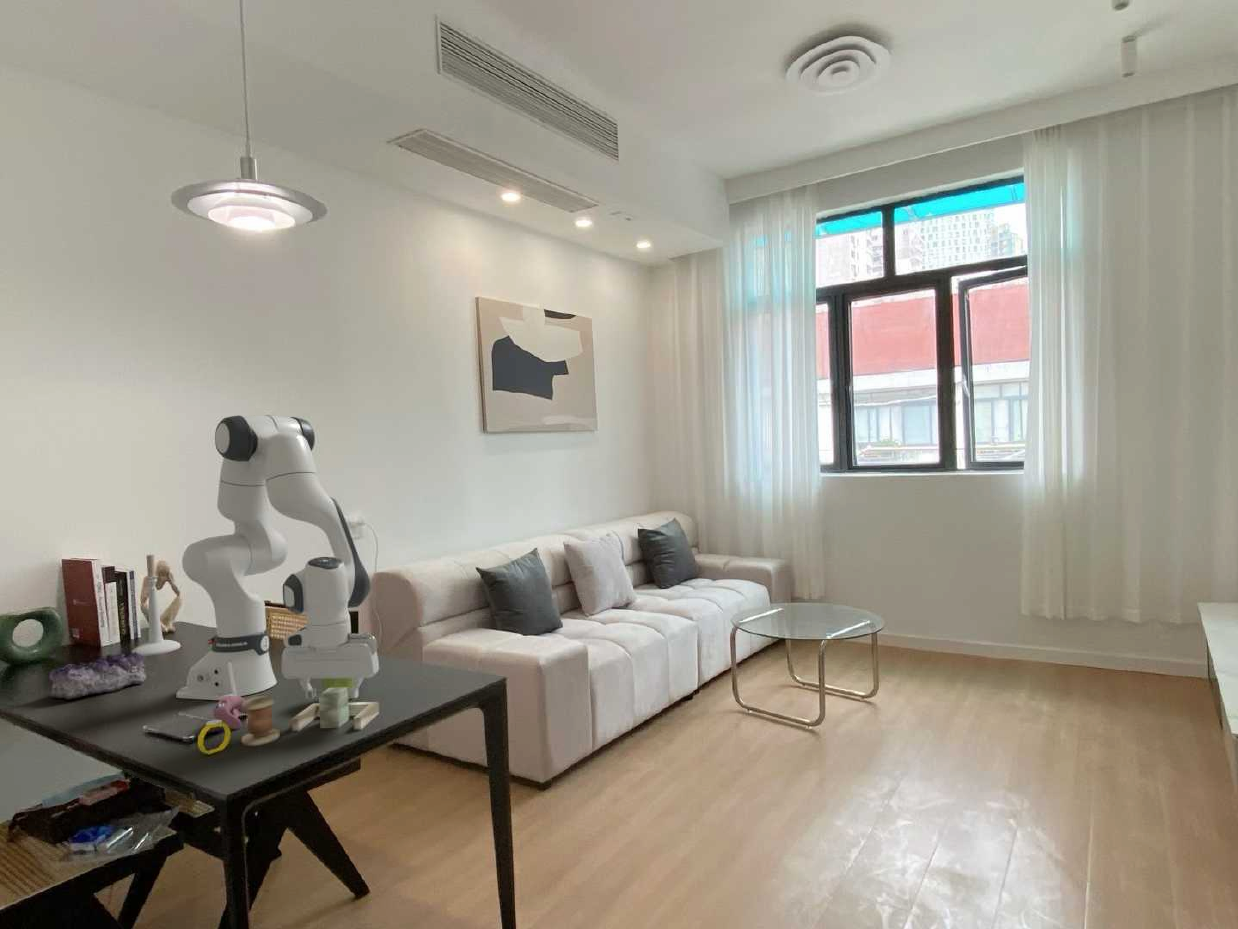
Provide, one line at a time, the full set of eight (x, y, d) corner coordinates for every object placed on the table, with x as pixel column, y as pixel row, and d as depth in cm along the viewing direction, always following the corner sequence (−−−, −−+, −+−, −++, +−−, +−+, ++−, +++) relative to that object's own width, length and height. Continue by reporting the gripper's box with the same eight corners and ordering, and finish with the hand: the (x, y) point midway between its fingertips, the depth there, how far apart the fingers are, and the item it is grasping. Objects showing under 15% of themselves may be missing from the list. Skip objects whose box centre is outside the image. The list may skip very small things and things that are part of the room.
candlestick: (190, 644, 235) (184, 550, 234) (156, 656, 222) (149, 556, 221) (156, 644, 237) (150, 550, 237) (121, 655, 225) (114, 557, 224)
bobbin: (234, 746, 149) (232, 707, 149) (254, 732, 156) (251, 695, 156) (268, 745, 149) (265, 706, 149) (286, 732, 156) (283, 694, 156)
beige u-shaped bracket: (292, 731, 156) (291, 719, 156) (313, 714, 166) (313, 703, 166) (361, 729, 155) (360, 718, 155) (379, 713, 165) (378, 702, 164)
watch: (204, 759, 144) (202, 728, 143) (195, 756, 145) (194, 726, 145) (233, 747, 149) (231, 717, 149) (225, 745, 150) (223, 716, 150)
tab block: (320, 728, 157) (318, 695, 157) (331, 719, 162) (329, 687, 162) (338, 728, 157) (336, 695, 157) (349, 719, 162) (347, 687, 162)
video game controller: (241, 721, 168) (224, 695, 167) (259, 711, 168) (243, 685, 168) (222, 738, 158) (204, 711, 158) (241, 727, 158) (224, 699, 158)
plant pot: (320, 709, 169) (317, 671, 168) (316, 697, 177) (313, 661, 177) (363, 701, 173) (361, 664, 173) (357, 690, 181) (355, 655, 181)
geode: (139, 676, 203) (140, 641, 202) (151, 690, 195) (152, 653, 194) (46, 694, 188) (46, 656, 187) (56, 710, 180) (56, 670, 179)
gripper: (382, 629, 161) (385, 692, 162) (291, 631, 163) (294, 693, 163) (370, 637, 155) (373, 702, 156) (275, 638, 157) (279, 703, 157)
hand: (332, 697), depth 159 cm, fingers open, 8 cm apart
